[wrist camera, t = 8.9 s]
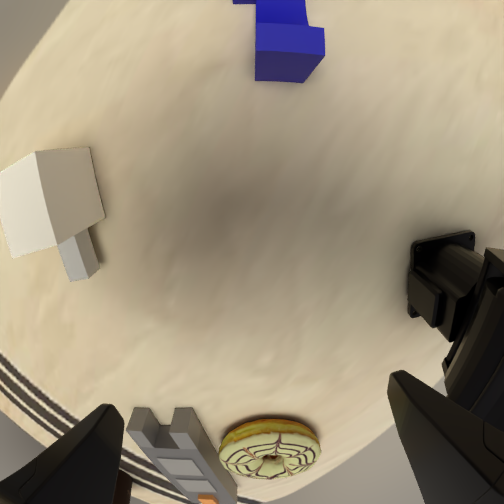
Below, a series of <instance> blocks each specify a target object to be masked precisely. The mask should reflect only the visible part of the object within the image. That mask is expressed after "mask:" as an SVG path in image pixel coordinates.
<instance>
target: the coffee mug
mask: <svg viewBox="0 0 504 504" xmlns="http://www.w3.org/2000/svg"><path fill="white" fill-rule="evenodd" d="M131 487H132V478H131V477H130V476H129V475H128V474H127V473H125V472H124V471H122V470H120V469H119V470H118V475H117V480H116V485H115V491H114V496H113V502H112V504H129V503H130V495H131Z"/></svg>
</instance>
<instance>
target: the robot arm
mask: <svg viewBox="0 0 504 504" xmlns="http://www.w3.org/2000/svg"><path fill="white" fill-rule="evenodd" d="M469 237H470V238H469ZM418 246H419V249H418V250H417V247H418ZM474 246H475V233H474V232H472V231H470V230H468V231H463V232H459V233H454V234H449V235H444V236H439V237H434V238H429V239H425V240H420V241H416V242H414V243H413V245H412V247H411V270H410V272H409V286H408V301H409V305H408V314H409V316H410V317H411V318H416V317H419V316H422V317H423V318H424V320H425V321H426V322H427V323H428V324H429V325H430V326H431V327H432V328H437V329H438V330H439V331H440V332H441V333H442V334H443V336H444V337H445V338H446V339H447V340H448V342H453V341H454V342H453V345H452V347H451V349H450V351H449V353H448V355H447V357H445V358H444V360H443V362H442V368H443V372H444V375H445V381H444V383H445V387H446V391H447V394H448V395H447V396H446V397H445V396H444V395H442V394H440V393H439V392H437V391H436V390H434V389H433V388H431V387H430V386H428V385H426V384H425V383H423V382H422V381H420V380H419V379H417V378H415V377H414V376H412V375H411V374H409V373H408V372H406V371H404V370H399V371H396V372H392V373H391V374H390V377H389V383H388V389H387V395H388V399H389V402H390V406H391V409H392V413H393V416H394V420H395V423H396V427H397V431H398V434H399V437H400V439H401V442H402V445H403V447H404V450H405V452H406V454H407V457H408V459H409V462H410V464H411V467H412V470H413V472H414V475H415V478H416V480H417V483H418V486H419V488H420V491H421V494H422V496H423V499H424V502H425V504H504V250H501V249H495V248H488V247H486V249H485V253H484V257H483V256H481V255H480V254H478V253H476V252H475V251H474ZM413 311H415V312H414V313H413ZM123 433H124V420H123V418H122V416H121V415H120V413H119V412H118V411H117V409H116V408H115V406H114V405H112V404H101V405H100V406H99V407H97V408H96V409H95V410H94V411H92V412H91V413H90V414H89V415H88V416H86V417H85V418H84V419H83V420H82V421H80V422H79V423H78V424H77V425H75V426H74V427H73V428H72V429H70V430H69V431H68V432H67V433H66V434H64V435H63V436H62V437H61V438H59V439H58V440H57V441H56V442H54V443H53V444H52V445H51V446H49V447H48V448H47V449H46V450H44V451H43V452H42V453H41V454H39V455H38V456H37V457H36V458H34V459H33V460H32V461H31V462H29V463H28V464H26V465H25V466H24V467H22V468H21V469H20V470H18V471H16V472H15V473H13V474H12V475H10V476H9V477H7V478H6V479H4V480H2V481H0V504H112V502H113V496H114V491H115V485H116V480H117V475H118V470H119V465H120V460H121V451H122V441H123Z"/></svg>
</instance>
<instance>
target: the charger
mask: <svg viewBox="0 0 504 504" xmlns="http://www.w3.org/2000/svg"><path fill="white" fill-rule="evenodd" d="M0 219H1V223H2V227H3V230H4V234H5V237H6V240H7V244H8V247H9V250H10V253H11V256H12V259H13V258H16V257H19V256H23V255H26V254H29V253H32V252H36V251H39V250H43V249H46V248H50V247H53V246H57V247H58V250H59V253H60V256H61V258H62V261H63V264H64V267H65V270H66V272H67V275H68V278H69V280H70V282H72V281H77V280H83V279H89V278H90V277H91V276H92V275H93V274H94V273H95V272H97V271H98V270H99V269H100V266H99V263H98V260H97V257H96V254H95V251H94V248H93V245H92V242H91V239H90V235H89V232H88V229H87V228H88V227H90V226H92V225H94V224H95V223H97V222H99V221H101V220H103V219H105V214H104V210H103V206H102V203H101V199H100V195H99V191H98V186H97V182H96V178H95V173H94V169H93V164H92V159H91V154H90V149H89V147H81V148H66V149H53V150H43V151H35V152H33V153H31V154H29V155H27V156H26V157H24V158H22V159H20V160H19V161H17V162H15V163H14V164H12V165H10V166H9V167H7V168H6V169H4V170H2V171H1V172H0Z"/></svg>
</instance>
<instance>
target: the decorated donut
mask: <svg viewBox="0 0 504 504" xmlns="http://www.w3.org/2000/svg"><path fill="white" fill-rule="evenodd" d="M320 454H321V449H320V444H319V441H318V439H317V438H316V436H315V435H314V433H313V432H312V431H311V430H310V429H309V428H308V427H306V426H305V425H303V424H301V423H298V422H295V421H289V420H285V419H260V420H256V421H253V422H247V423H245V424H242V425H240V426H238V427H237V428H236V429H234V430H232V431H230V432H229V433H228V435H227V436H226V437H225V438H224V439H223V441H222V444H221V446H220V448H219V459H220V462H221V463H222V465H223V466H224V468H225V469H226V470H228V471H231V472H233V473H236V474H238V475H241V476H245V477H250V478H256V479H276V478H284V477H290V476H293V475H296V474H299V473H301V472H304V471H307V470H309V469H310V468H311V467H312V466H313V465H314V464H315V462H316V461H317V459H318V458H319V456H320Z"/></svg>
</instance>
